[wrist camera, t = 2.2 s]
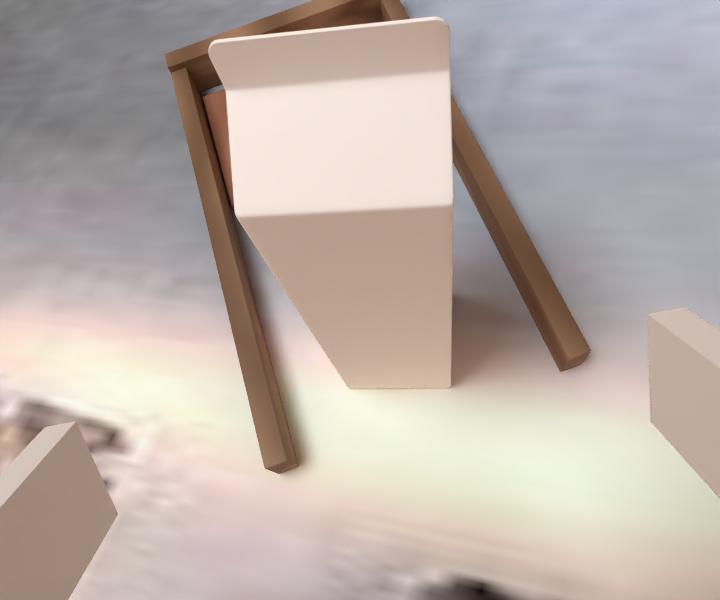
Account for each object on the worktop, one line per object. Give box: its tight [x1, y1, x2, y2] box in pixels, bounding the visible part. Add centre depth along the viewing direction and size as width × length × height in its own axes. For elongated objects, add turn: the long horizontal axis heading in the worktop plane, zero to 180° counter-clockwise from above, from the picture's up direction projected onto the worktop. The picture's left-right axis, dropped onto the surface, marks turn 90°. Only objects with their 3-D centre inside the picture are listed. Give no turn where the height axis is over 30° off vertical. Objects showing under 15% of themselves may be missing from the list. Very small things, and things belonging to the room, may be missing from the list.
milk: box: [208, 17, 454, 389], centre depth 23 cm, size 6×6×22 cm
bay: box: [165, 0, 591, 474], centre depth 36 cm, size 18×32×3 cm, turn 18°
